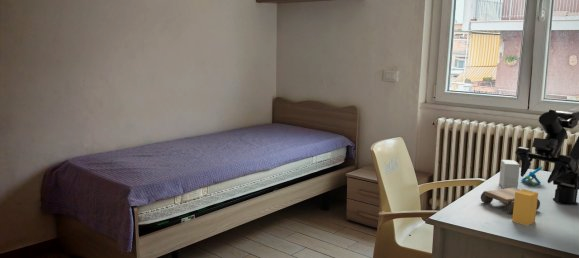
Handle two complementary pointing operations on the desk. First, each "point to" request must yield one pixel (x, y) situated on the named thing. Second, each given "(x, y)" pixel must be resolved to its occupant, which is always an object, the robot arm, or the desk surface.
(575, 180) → the robot arm
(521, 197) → the yellow upright rectangular block
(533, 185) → the blue angled frame
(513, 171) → the small box
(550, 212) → the desk surface
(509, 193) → the dolly
